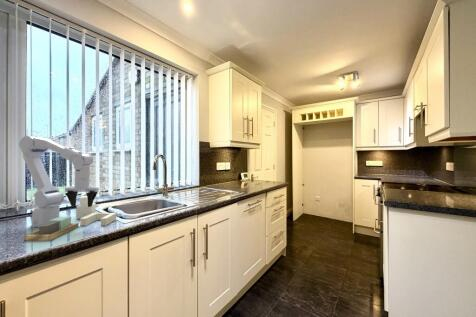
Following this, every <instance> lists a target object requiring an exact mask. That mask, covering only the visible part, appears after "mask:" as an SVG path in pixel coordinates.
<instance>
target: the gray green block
mask: <svg viewBox="0 0 476 317" xmlns="http://www.w3.org/2000/svg"><path fill="white" fill-rule="evenodd" d="M71 223H72V216H59V217H57V218H55V219H52V220H49V223H47V224H44V225H41V226H39V227H38V228H39V229H38V230H39V235H51V234H53V233H55V232H57V231H60V230H62V229H64V228H66V227H68V226H71Z"/></svg>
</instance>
